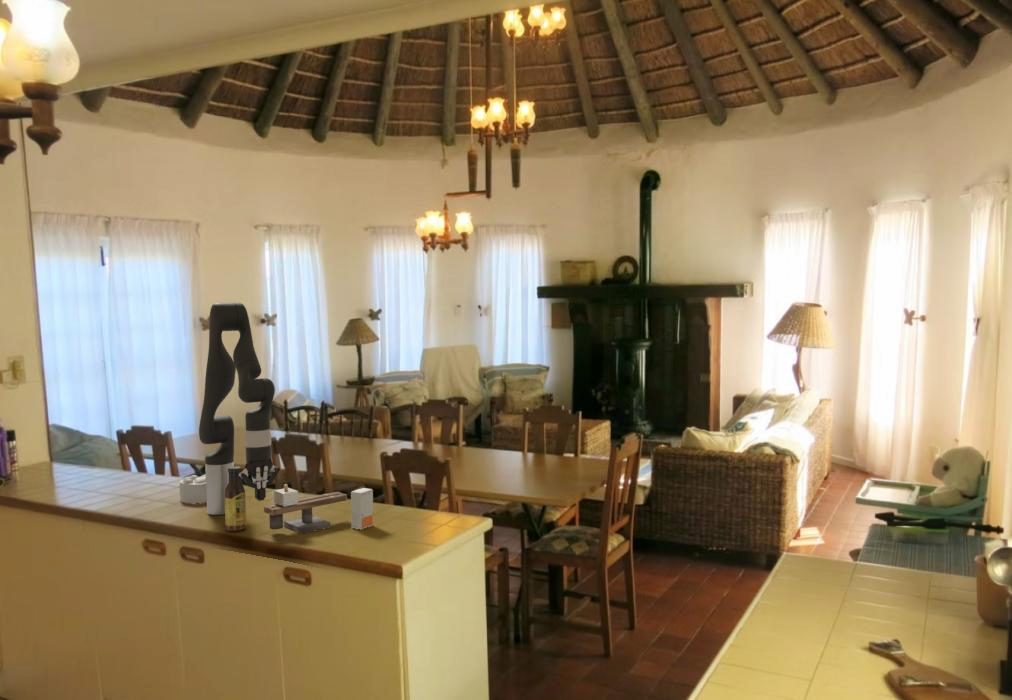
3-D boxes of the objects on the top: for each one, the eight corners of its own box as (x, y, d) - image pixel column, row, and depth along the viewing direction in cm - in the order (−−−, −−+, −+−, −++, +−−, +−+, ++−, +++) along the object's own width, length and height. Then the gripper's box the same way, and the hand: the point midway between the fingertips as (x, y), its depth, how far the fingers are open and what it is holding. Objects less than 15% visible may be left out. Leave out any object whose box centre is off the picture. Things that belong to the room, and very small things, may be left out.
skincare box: (361, 530, 239) (360, 493, 238) (351, 528, 241) (350, 491, 241) (374, 525, 244) (373, 489, 244) (364, 523, 246) (363, 487, 246)
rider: (274, 508, 239) (273, 484, 239) (289, 505, 243) (288, 481, 242) (283, 512, 235) (283, 487, 234) (298, 509, 238) (297, 484, 238)
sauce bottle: (239, 532, 238) (237, 470, 237) (221, 531, 240) (219, 469, 238) (250, 526, 245) (248, 465, 244) (232, 525, 246) (230, 465, 245)
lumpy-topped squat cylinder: (198, 505, 273) (197, 481, 272) (172, 501, 278) (171, 478, 278) (220, 498, 282) (219, 475, 281) (195, 494, 288) (194, 472, 287)
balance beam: (260, 531, 239) (259, 504, 239) (333, 515, 257) (332, 489, 257) (278, 539, 231) (277, 511, 230) (352, 522, 248) (351, 496, 248)
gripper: (273, 439, 239) (275, 494, 240) (232, 445, 230) (234, 501, 231) (284, 442, 233) (286, 498, 234) (242, 448, 224) (244, 506, 225)
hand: (260, 500), depth 233 cm, fingers closed
